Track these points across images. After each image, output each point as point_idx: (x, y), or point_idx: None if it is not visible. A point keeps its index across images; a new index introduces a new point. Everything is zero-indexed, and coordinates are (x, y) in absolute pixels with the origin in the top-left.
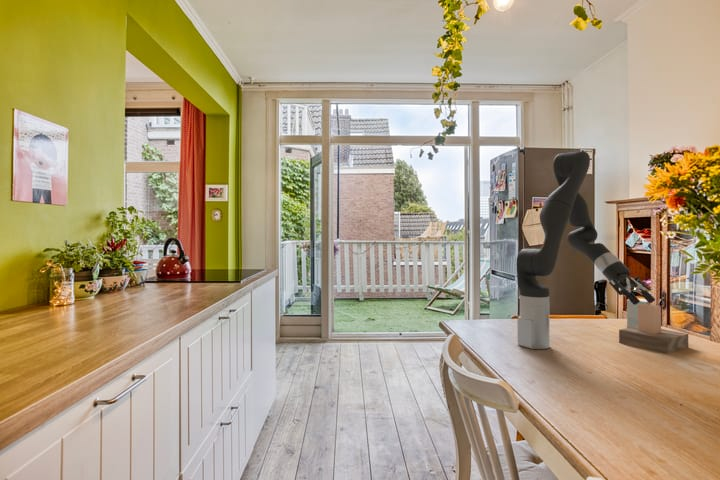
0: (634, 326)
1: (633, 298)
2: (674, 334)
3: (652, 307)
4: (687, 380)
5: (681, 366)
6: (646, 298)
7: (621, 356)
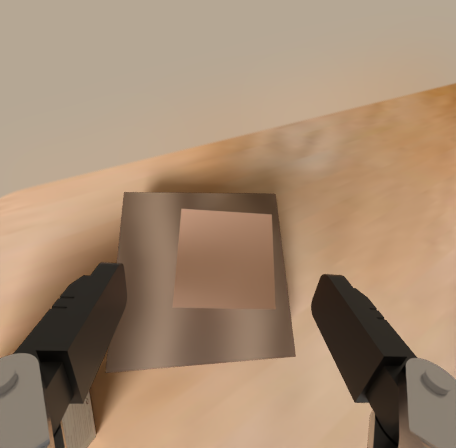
0: (73, 420)
1: (373, 308)
2: (177, 211)
3: (271, 217)
4: (397, 126)
5: (333, 157)
6: (109, 333)
7: (396, 253)
